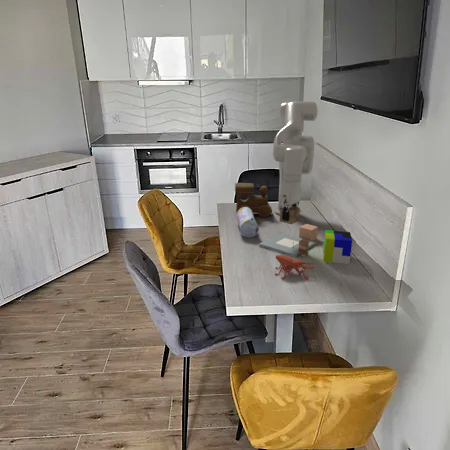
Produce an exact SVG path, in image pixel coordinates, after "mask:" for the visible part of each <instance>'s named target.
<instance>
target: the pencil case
mask: <svg viewBox="0 0 450 450" xmlns="http://www.w3.org/2000/svg"><path fill="white" fill-rule="evenodd" d="M235 217H236V220H237V224H238V226H239V232H240V234H241V235H242V236H243V237H244V238H253V237H256V236H257V235H258V234H259V225H258V223H257V220H256V219H255V217H254V213H253V212H252V210H251V209H250V208H248V207H243V208H240V209H239V210H238V212H237V213H236V215H235Z"/></svg>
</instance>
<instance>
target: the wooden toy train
mask: <svg viewBox="0 0 450 450" xmlns="http://www.w3.org/2000/svg"><path fill="white" fill-rule="evenodd" d="M254 184H255V183H253V182H252V183H251V182H236V183H235V184H234V192H235V193H236V209H235V210H236V212H235V213H236V214H237V212H238V210H239V209H240V208H243V207H248V208H250V209H251V210H252V212H253V214H257V215H258V216H259V217H260V218H263V217H265V218H268V217H269V216H271V214H273V209H272V207H271V205H270V203H269V197H268V195H267V193H268V191H269V188H268V187H267V186H266V185H262V186H261V187H260V188H259V192H260V195H258V194H257V195H256V194H253V193H254V192H255V185H254ZM242 196H246V197H247V199H242V198H241V197H242Z"/></svg>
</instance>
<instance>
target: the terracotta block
mask: <svg viewBox="0 0 450 450" xmlns="http://www.w3.org/2000/svg"><path fill="white" fill-rule="evenodd" d="M318 229H319V227H318V226H316V225H312V224H309V223H306V224H305V223H304V224H303V225H301V226H300V227H299V234H298V237H299V238H302V239H306V240H310V241H313V242H315V241H316V240H317V239H318V238H317V237H318V231H319V230H318Z"/></svg>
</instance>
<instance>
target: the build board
mask: <svg viewBox="0 0 450 450" xmlns="http://www.w3.org/2000/svg"><path fill="white" fill-rule="evenodd" d="M300 240H302V238H299V236H295V235H290V234H288V233H284V232H280V233H278V234H276V235H274V236H272V237H270V238H268V239H266V240H264V241H262V242H260V243H259V245H258V246H259V247H261V248H264V249H267V250H270V251H274V252H277V253H280V254H282V255H286V254H287V256H289V255H291V256H290V257H292V256H294V257H293V258H296V257H298V256H300V255H299V252H298V249H299V241H300ZM304 240H306V239H304ZM308 241H309V248H308V250H309V249H311V248H312V247H314V246H316V243H317V242H316V241H310V240H308ZM293 246H294V249H293ZM293 250H294V251H293ZM297 255H298V256H297ZM295 256H296V257H295Z"/></svg>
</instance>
